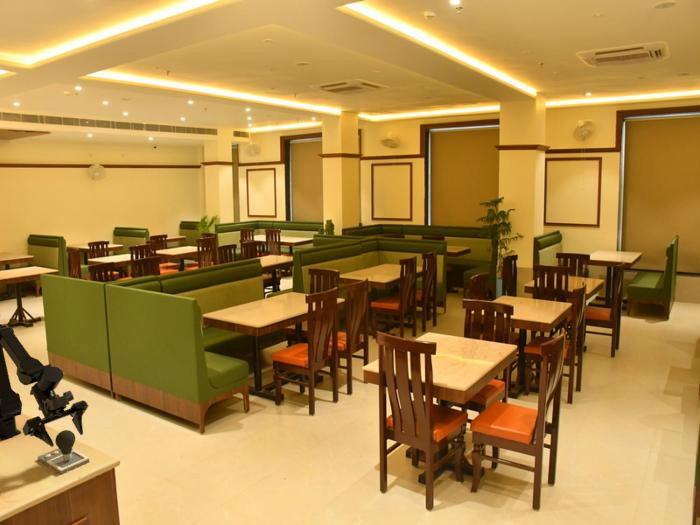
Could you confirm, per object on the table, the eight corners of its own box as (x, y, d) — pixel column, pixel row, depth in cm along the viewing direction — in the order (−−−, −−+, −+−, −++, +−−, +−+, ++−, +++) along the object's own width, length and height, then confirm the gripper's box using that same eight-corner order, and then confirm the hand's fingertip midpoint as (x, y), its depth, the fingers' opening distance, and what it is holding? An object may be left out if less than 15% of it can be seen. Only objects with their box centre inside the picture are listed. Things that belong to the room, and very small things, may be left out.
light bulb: (69, 465, 178) (66, 436, 176) (53, 464, 179) (50, 434, 177) (81, 456, 183) (78, 427, 182) (65, 455, 185) (62, 426, 183)
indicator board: (37, 459, 184) (37, 455, 184) (65, 448, 191) (65, 444, 191) (61, 474, 175) (60, 470, 175) (89, 461, 182) (89, 457, 182)
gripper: (22, 395, 172) (44, 440, 167) (82, 376, 187) (104, 417, 182) (13, 413, 178) (34, 457, 173) (72, 393, 193) (93, 433, 188)
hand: (67, 440), depth 179 cm, fingers open, 9 cm apart
